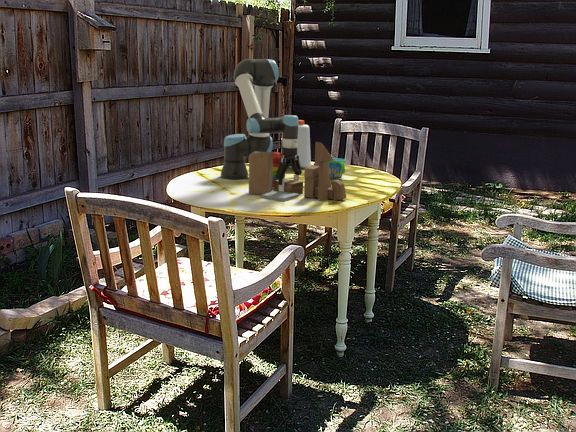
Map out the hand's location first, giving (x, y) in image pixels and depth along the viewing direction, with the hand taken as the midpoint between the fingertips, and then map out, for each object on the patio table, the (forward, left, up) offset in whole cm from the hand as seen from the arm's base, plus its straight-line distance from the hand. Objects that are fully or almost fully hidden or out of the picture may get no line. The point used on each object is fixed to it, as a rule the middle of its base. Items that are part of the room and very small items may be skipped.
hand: (288, 189), depth 334 cm
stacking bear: (-14, +10, -2) cm, 18 cm away
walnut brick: (0, 0, -2) cm, 2 cm away
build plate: (+3, -12, -2) cm, 12 cm away
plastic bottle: (-38, +70, -2) cm, 80 cm away
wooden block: (-10, -10, -2) cm, 14 cm away
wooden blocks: (+21, +3, -2) cm, 21 cm away
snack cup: (-2, +52, -2) cm, 52 cm away
